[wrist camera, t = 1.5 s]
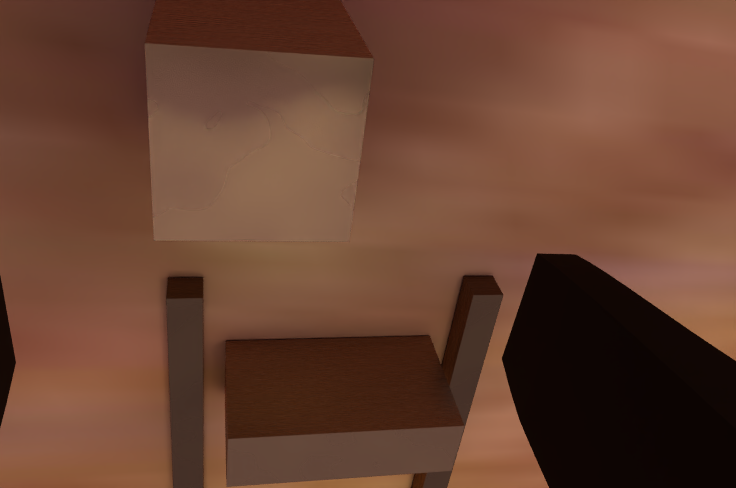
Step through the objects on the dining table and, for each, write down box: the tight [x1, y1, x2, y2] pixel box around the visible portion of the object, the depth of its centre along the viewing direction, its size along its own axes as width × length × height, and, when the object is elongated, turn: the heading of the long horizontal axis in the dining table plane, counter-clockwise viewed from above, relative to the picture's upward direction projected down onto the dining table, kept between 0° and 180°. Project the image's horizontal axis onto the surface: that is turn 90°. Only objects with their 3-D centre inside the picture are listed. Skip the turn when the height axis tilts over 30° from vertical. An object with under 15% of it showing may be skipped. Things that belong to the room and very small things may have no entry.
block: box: [145, 0, 374, 242], centre depth 15 cm, size 4×4×5 cm
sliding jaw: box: [225, 336, 465, 487], centre depth 22 cm, size 7×2×4 cm, turn 83°
